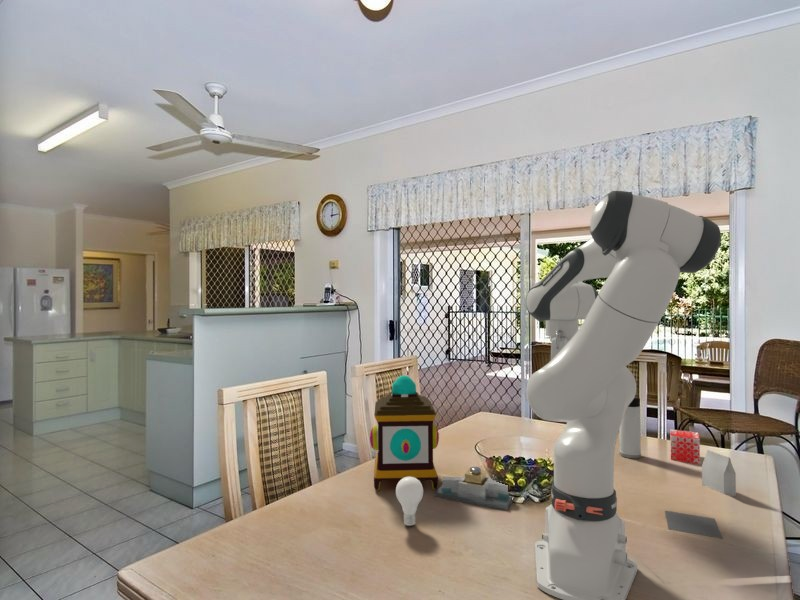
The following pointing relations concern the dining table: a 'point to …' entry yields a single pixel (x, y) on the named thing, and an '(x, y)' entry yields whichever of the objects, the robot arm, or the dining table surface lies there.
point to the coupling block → (475, 476)
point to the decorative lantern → (404, 435)
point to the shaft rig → (475, 492)
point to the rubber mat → (693, 524)
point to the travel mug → (631, 431)
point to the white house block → (719, 473)
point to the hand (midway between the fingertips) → (562, 378)
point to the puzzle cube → (685, 446)
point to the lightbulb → (409, 497)
